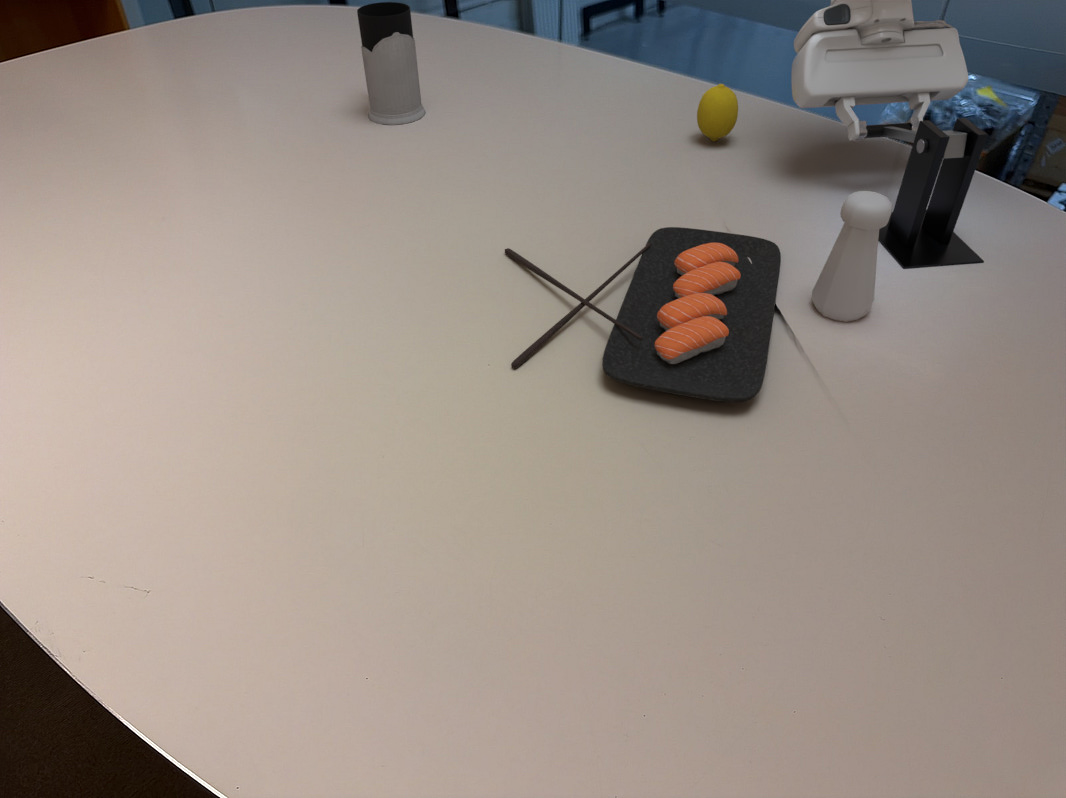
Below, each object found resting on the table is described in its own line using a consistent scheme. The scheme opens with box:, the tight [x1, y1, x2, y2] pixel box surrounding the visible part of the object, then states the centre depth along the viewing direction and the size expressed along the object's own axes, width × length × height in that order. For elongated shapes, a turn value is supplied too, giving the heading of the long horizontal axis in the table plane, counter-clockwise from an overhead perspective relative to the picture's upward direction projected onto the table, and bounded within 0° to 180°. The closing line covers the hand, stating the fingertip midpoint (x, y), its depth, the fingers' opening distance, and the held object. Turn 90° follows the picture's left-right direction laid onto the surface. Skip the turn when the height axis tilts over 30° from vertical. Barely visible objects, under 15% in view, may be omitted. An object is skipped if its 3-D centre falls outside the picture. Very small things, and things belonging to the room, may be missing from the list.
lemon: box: [696, 83, 739, 142], centre depth 112 cm, size 6×6×8 cm
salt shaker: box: [811, 190, 893, 323], centre depth 77 cm, size 6×6×13 cm
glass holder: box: [356, 1, 426, 126], centre depth 122 cm, size 9×14×15 cm, turn 30°
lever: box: [864, 122, 967, 159], centre depth 89 cm, size 15×6×2 cm, turn 7°
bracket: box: [878, 117, 988, 270], centre depth 87 cm, size 12×9×14 cm
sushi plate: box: [504, 226, 782, 403], centre depth 82 cm, size 29×30×4 cm
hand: (886, 137), depth 96 cm, fingers closed on lever, 5 cm apart
